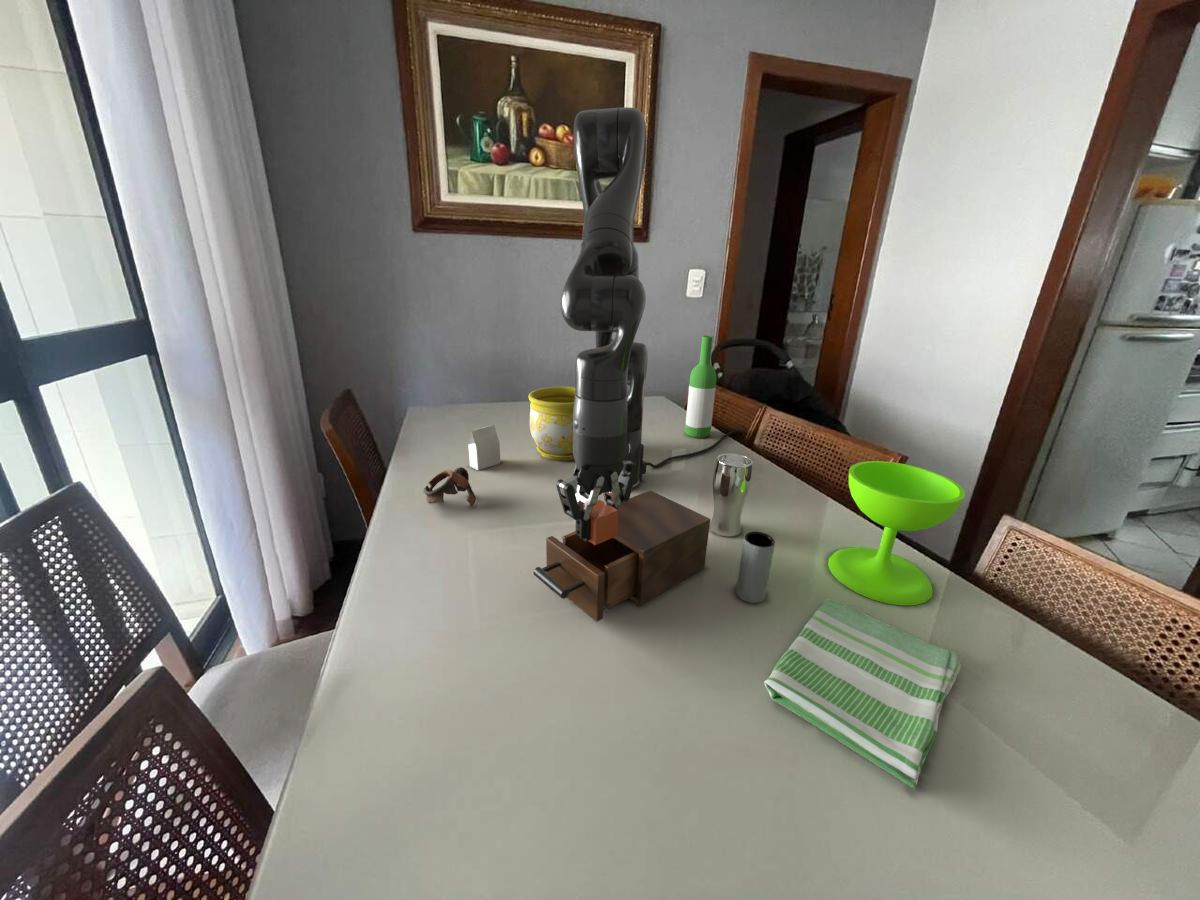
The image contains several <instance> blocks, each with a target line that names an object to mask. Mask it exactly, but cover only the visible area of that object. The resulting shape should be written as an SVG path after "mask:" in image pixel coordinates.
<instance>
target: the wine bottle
mask: <svg viewBox="0 0 1200 900" xmlns="http://www.w3.org/2000/svg"><path fill="white" fill-rule="evenodd" d="M712 349H713V336H712V335H703V336H701V345H700V355H699V362H698V364H697V365H695V366H694V367H693V368H692V370H691V372H690V375H689V384H688V385H689V386H688V396H687V404H686V405H687V407H686V416H685V427H684V428H685V429H684V431H685V434H686V435H687V436H689V437H691V438H695V439H705V438H708V437H709V436H710V435H711V433H712V424H713V414H714V405H715V396H716V388H717V387H716V386H717V372H716V370H715V368H714V366H712V365H711V358H712V357H711V356H712Z"/></svg>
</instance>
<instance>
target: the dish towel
mask: <svg viewBox="0 0 1200 900" xmlns="http://www.w3.org/2000/svg"><path fill="white" fill-rule="evenodd" d="M959 661H960V654H958V653H957V652H956V651H954V650H951V649H948V648H946V647H943V646H940V645H936V644H933V643H930V642H927V641H924V640H922V639H920V638H917V637H916V636H913V635H912V634H910V633H907V632H905V631H903V630H901V629H900V628H897V627H895V626H893V625H891V624H888V623H886V622H883V621H882V620H879V619H878V618H875V617H873V616H871V615H868V614H866V613H864V612H862V611H860V610H859V609H856V608H854V607H852V606H850V605H847V604H844V603H841V602H839V601H837V600H833V599H829V598H828V599H825V600H824V601H823V602H822V603H821V605H820V606H819V607H818V608H817V609H816V610H815V612H814V613H813V615H812V616H811V617H810V618H809V620H808V621H807V622H806V624H805V625H804V626H803V628H802V629H801V630H800V633H799V634H798V636H797V637H796V638H795V639H794V640H793V642H792V643H791V645H790V646H789V648H788V649H787V650H786V651H784V653H782V655H781V657H780V659H779V660H778V661H777V662H776V663H775V665H774V667H773V669H772V671H771V674H770V676H769V677H768V678H767V679H766V680H765V681H764V682H763V684H764V686H765V688H766V690H767V692H768V695H769V697H770V699H771V700H772V701H774V703H775V702H776V703H778V704H779V705H781V706H782V707H784V708H785V709H787V710H789V711H790V712H792V713H793V714H795V715H797V716H799V717H800V718H801V719H804V720H805V721H807V722H808V723H810V724H812V725H813V726H815V728H817V729H819V730H821V731H822V732H824V733H825V734H826V735H828V736H830V737H831V738H833V739H834V740H836V741H838V742H839V743H841V744H843V745H844V746H845V747H847V748H849V749H850V750H852V751H854V752H855V753H856V754H858V755H860V756H861V757H863V758H865V759H866V760H868V761H869V762H871V763H872V764H874V765H875V766H876V767H878V768H881V769H882V770H883V771H885V772H887V773H888V774H890V775H891V776H893V777H895V778H896V779H898V780H899V781H901V782H902V783H904V784H905V785H907V786H909V787H910V788H912V789H913V790H915V789H916V787H917V785H918V781H919V776H920V774H921V772H922V769H923V767H924V763H925V761H926V758H927V756H928V753H929V752H930V750H931V747H932V746H933V744H934V742H935V739H936V738H937V734H938V726H939V717H940V715H941V712H942V708H943V705H944V700H945V699H946V697H947V696H948V695H949V693H950V692H951V690H952V688H953V686H954V684H955V682H956V680H957V678H958V676H959V673H960V672H961V668H962V665H961V663H960V662H959Z"/></svg>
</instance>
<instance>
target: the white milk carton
mask: <svg viewBox="0 0 1200 900" xmlns="http://www.w3.org/2000/svg"><path fill="white" fill-rule="evenodd" d="M467 443H468V444H467V447H468V449H467V450H468V459H469V467H470V468H473V469H475V470H477V471H481V470H484V469H487V468H490V467H493V466H497V465H500V464H501V462H502V461H501V447H500V446H501V445H500V444H501V443H500V439H499V436H498V432H497V430H496V426H495V424H490V425H485V426H483V427H478V428H475V429H471V430H470V434H469V439H468V442H467Z"/></svg>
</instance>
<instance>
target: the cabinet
mask: <svg viewBox="0 0 1200 900" xmlns="http://www.w3.org/2000/svg"><path fill="white" fill-rule="evenodd" d="M710 523H711V518H710V517H707V516H706V515H703V514H701V513H700V512H697V511H695V510H693V509H691V508H689V507H687V506H684V505H682V504H680V503H678V502H676V501H674V500H672V499H670V498H668V497H666V496H664V495H661V494H659V493H657V492H656V491H653V490H651V489H650V490H648V491H645V492H642V493H639V494H637V495H634V496H632V497H630V498H629V500H628V501H623V502H622V503H621V506H620V507H619V508H618V532H617V536H616V537H613V538H614V539H616V540H618V541H619V542H621V543H622V544H624V545H626V546H627V547H629V548H630V549H632V550H634V551H635V552H637V553H638V554H639V567H638V582H637V593H636V594H634V595H632V596H630V597H629V598H628V599H630V600H631V601H632V602H634V603H635V604H637V606H639V607H641V606H643V605H645V604H646V603H649V602H650V601H651V600H653V599H655V598H657V597H658V596H660V595H662V594H663V593H665V592H667V591H669V590H670V589H672V588H674V587H675V586H677V585H679V584H681V583H682V582H684V581H685V580H687V579H689V578H691V577H693V576H694V575H696V574H698V573H700V572H701V571H703V570H705V569H706V568H705V566H706V558H707V551H708V542H709V535H710Z"/></svg>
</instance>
